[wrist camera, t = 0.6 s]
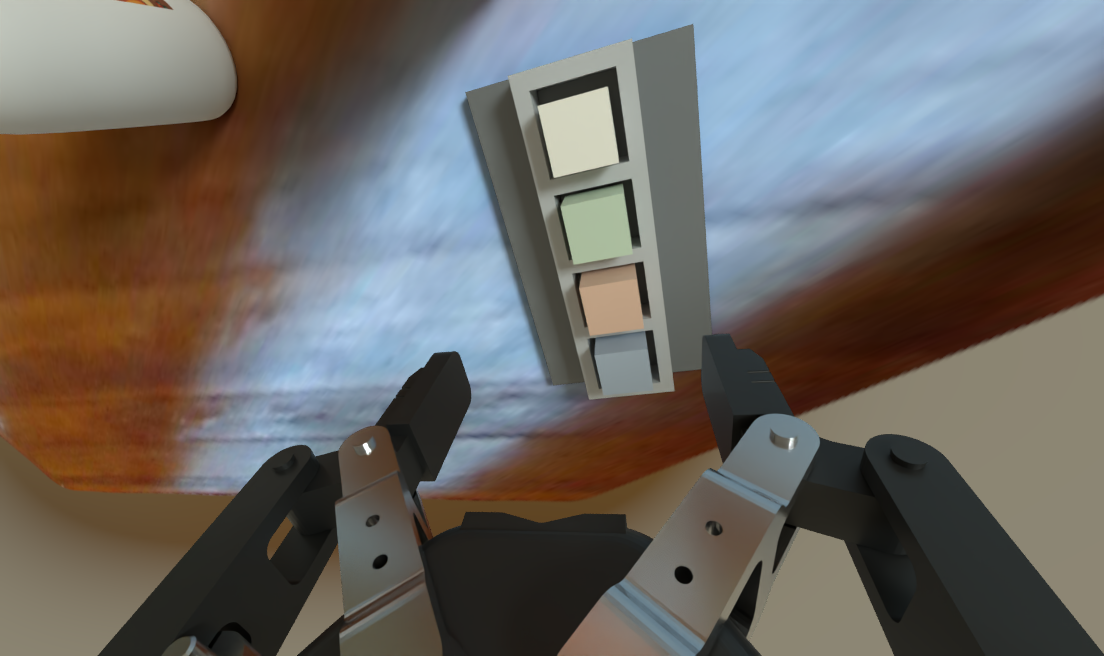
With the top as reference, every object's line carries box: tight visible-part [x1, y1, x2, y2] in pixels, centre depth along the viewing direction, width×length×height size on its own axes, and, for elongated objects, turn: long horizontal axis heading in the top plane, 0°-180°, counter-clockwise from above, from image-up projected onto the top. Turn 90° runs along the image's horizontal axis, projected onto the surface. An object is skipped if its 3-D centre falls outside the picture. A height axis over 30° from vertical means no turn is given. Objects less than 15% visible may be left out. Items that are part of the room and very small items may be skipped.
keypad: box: [465, 24, 712, 400], centre depth 29 cm, size 14×24×4 cm, turn 14°
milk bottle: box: [0, 0, 237, 134], centre depth 20 cm, size 8×8×20 cm
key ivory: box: [538, 87, 619, 178], centre depth 24 cm, size 4×4×3 cm
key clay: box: [579, 263, 644, 336], centre depth 29 cm, size 4×4×3 cm
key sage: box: [561, 183, 633, 265], centre depth 26 cm, size 4×4×3 cm
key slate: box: [594, 331, 653, 395], centre depth 31 cm, size 4×4×3 cm
